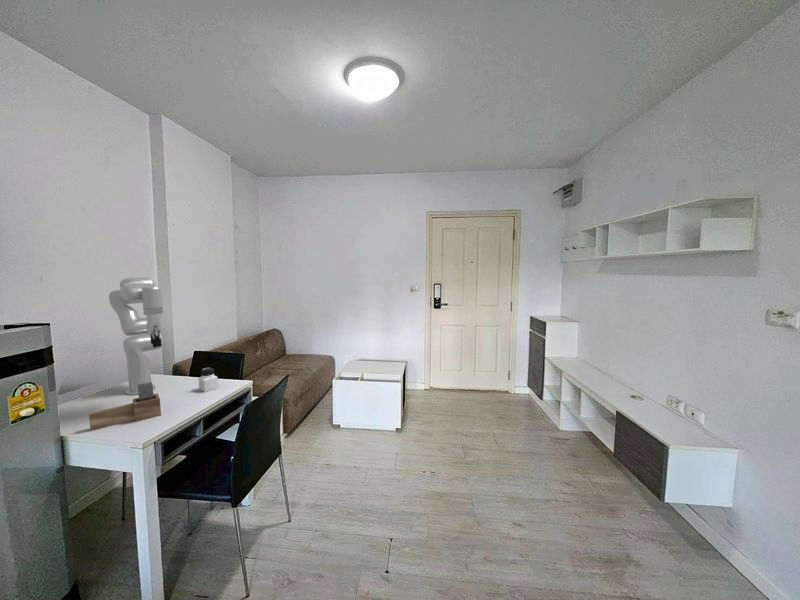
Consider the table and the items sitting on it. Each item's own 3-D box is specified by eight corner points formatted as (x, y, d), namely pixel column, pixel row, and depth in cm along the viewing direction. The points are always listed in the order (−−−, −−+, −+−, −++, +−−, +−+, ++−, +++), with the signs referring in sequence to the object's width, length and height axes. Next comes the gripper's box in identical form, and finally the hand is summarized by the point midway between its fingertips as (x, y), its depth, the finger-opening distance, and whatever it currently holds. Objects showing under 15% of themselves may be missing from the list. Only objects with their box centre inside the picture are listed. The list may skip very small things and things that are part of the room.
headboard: (91, 426, 129) (89, 408, 129) (158, 409, 145) (157, 393, 145) (90, 433, 123) (88, 415, 122) (161, 415, 139) (159, 398, 138)
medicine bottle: (218, 388, 171) (217, 368, 170) (204, 392, 166) (203, 371, 165) (212, 385, 175) (211, 366, 174) (198, 389, 170) (197, 369, 168)
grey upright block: (139, 409, 138) (137, 384, 137) (153, 406, 142) (151, 381, 141) (140, 411, 136) (138, 386, 135) (154, 408, 139) (152, 383, 138)
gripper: (142, 310, 151) (144, 343, 153) (144, 313, 139) (147, 349, 140) (160, 309, 156) (163, 341, 158) (165, 312, 144) (167, 346, 145)
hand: (156, 345), depth 149 cm, fingers open, 9 cm apart
